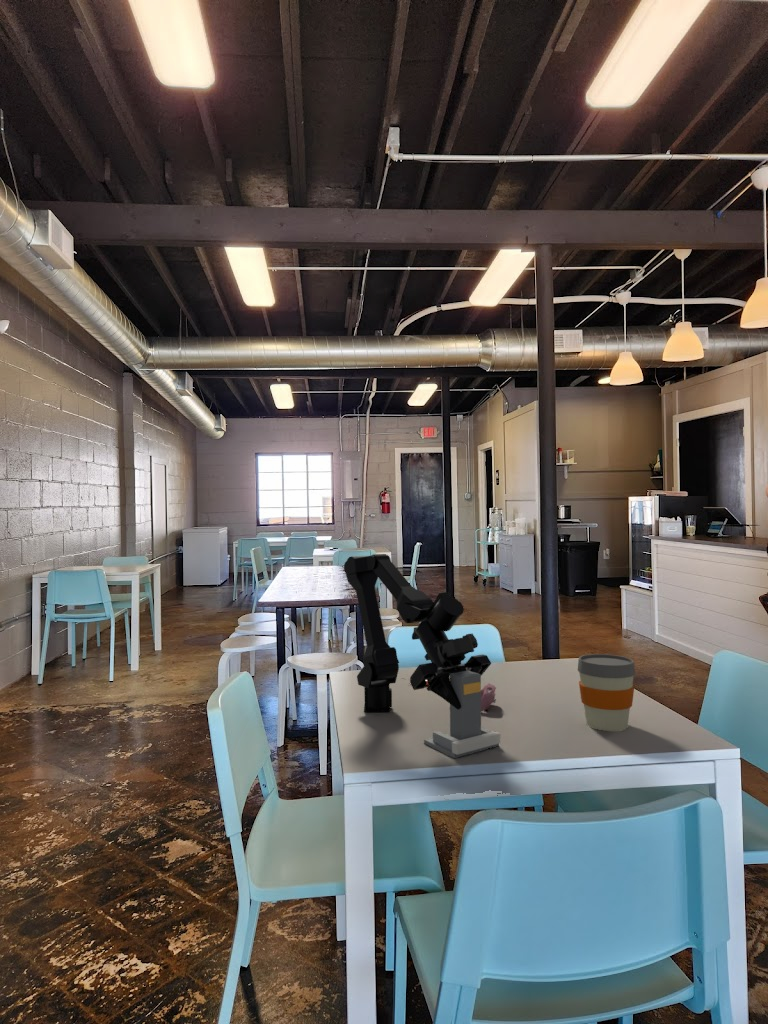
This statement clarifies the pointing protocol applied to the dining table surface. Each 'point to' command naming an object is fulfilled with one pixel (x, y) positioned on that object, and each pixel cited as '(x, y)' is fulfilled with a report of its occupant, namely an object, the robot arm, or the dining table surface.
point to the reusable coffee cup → (606, 690)
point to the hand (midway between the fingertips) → (469, 706)
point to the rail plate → (463, 743)
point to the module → (466, 705)
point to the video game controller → (487, 696)
